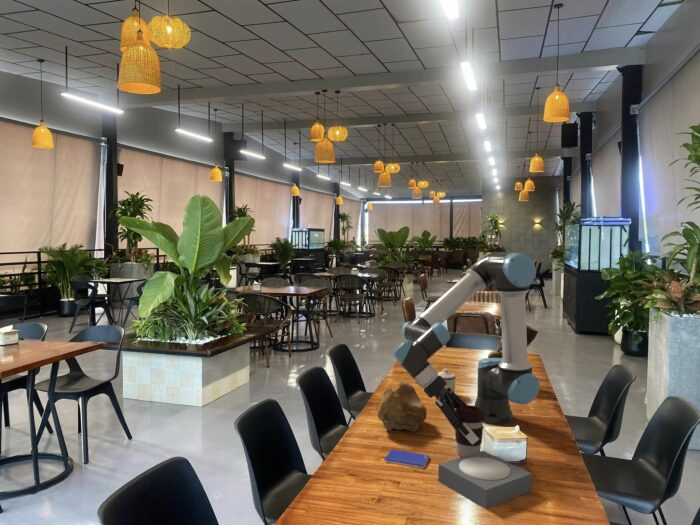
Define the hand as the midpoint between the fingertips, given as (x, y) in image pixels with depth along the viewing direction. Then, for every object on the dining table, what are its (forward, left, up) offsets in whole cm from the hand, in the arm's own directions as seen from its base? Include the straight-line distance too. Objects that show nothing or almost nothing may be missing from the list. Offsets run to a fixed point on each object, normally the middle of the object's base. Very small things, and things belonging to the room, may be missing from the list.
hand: (478, 435), depth 168 cm
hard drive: (+21, -9, -7) cm, 24 cm away
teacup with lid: (-34, -54, -7) cm, 65 cm away
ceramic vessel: (-69, -45, -7) cm, 82 cm away
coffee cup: (+2, -2, -7) cm, 7 cm away
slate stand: (+14, +16, -6) cm, 22 cm away
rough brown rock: (+4, -32, -7) cm, 33 cm away
